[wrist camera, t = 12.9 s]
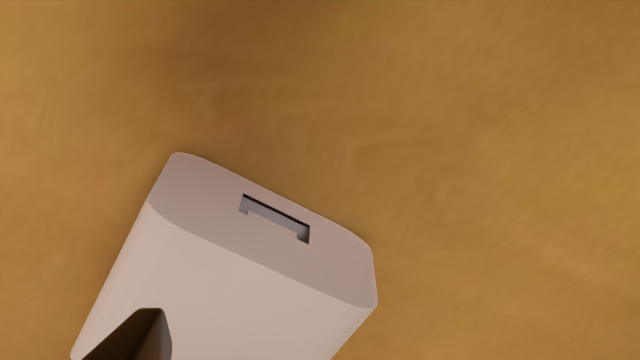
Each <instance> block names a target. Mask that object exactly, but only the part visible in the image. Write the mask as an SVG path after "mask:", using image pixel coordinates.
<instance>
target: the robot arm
mask: <svg viewBox="0 0 640 360" xmlns="http://www.w3.org/2000/svg"><path fill="white" fill-rule="evenodd" d="M171 357H172V339H171V335H170V331H169V327H168V323H167V319H166V315H165V312H164V310H163V309H161V308H140V309H138V310H136V311H135V312H134V313H133V314H131V315H130V316H129V317H128V318H127V319H126V320H125V321H124V322H123V323H121V324H120V325H119V326H118V327H117V328H116V329H115V330H114V331H113V332H111V333H110V334H109V335H108V336H107V337H106V338H105V339H104V340H103V341H101V342H100V343H99V344H98V345H97V346H96V347H95V348H94V349H93V350H91V351H90V352H89V353H88V354H87V355H86V356H85V357H84V358H83V359H81V360H171Z"/></svg>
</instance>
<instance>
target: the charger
mask: <svg viewBox="0 0 640 360" xmlns="http://www.w3.org/2000/svg"><path fill="white" fill-rule="evenodd" d="M377 305H378V295H377V287H376V279H375V271H374V262H373V254H372V251H371V248H370V247H369V246H368V245H367V244H366V243H365V242H364V241H363V240H362V239H361V238H360V237H358V236H357V235H356V234H354V233H352V232H351V231H349V230H348V229H346V228H344V227H342V226H341V225H339V224H337V223H335V222H333V221H331V220H329V219H327V218H325V217H323V216H321V215H319V214H317V213H315V212H313V211H311V210H309V209H307V208H305V207H303V206H301V205H298V204H296V203H294V202H292V201H290V200H288V199H286V198H284V197H282V196H280V195H278V194H276V193H274V192H272V191H270V190H268V189H266V188H264V187H262V186H260V185H258V184H256V183H254V182H252V181H250V180H248V179H246V178H244V177H242V176H240V175H238V174H236V173H234V172H232V171H230V170H228V169H226V168H224V167H222V166H220V165H218V164H215V163H213V162H211V161H209V160H206V159H204V158H201V157H198V156H195V155H193V154H188V153H183V152H175V153H173V154H171V156H170V157H169V159H168V161H167V163H166V165H165V166H164V168H163V170H162V172H161V173H160V175H159V177H158V179H157V180H156V182H155V184H154V186H153V188H152V189H151V191H150V193H149V195H148V196H147V198H146V200H145V202H144V205H143V207H142V209H141V211H140V213H139V215H138V217H137V219H136V221H135V223H134V225H133V227H132V229H131V231H130V233H129V235H128V237H127V239H126V241H125V243H124V245H123V247H122V249H121V251H120V253H119V255H118V257H117V259H116V261H115V263H114V265H113V267H112V269H111V271H110V273H109V275H108V277H107V279H106V281H105V283H104V285H103V287H102V290H101V292H100V294H99V296H98V298H97V300H96V302H95V304H94V306H93V308H92V310H91V312H90V314H89V316H88V318H87V320H86V322H85V324H84V326H83V328H82V330H81V332H80V334H79V336H78V338H77V340H76V342H75V344H74V346H73V348H72V350H71V355H70V358H71V360H81V359H83V358H84V357H85V356H86V355H87V354H88V353H89V352H90V351H91V350H93V349H94V348H95V347H96V346H97V345H98V344H99V343H100V342H101V341H103V340H104V339H105V338H106V337H107V336H108V335H109V334H110V333H111V332H113V331H114V330H115V329H116V328H117V327H118V326H119V325H120V324H121V323H123V322H124V321H125V320H126V319H127V318H128V317H129V316H130V315H131V314H133V313H134V312H135V311H136V310H138V309H140V308H161V309H163V310H164V312H165V315H166V319H167V323H168V327H169V331H170V335H171V339H172V357H171V360H331V359H332V357H333V356H334V355H335V354H336V353H337V352H338V351H339V349H340V348H341V347H342V346H343V345H344V344H345V342H346V341H347V340H348V339H349V338H350V337H351V336H352V334H353V333H354V332H355V331H356V330H357V329H358V328H359V326H360V325H361V324H362V323H363V322H364V321H365V320H366V318H367V317H368V316H369V315H370V314H371V313H372V311H373V310H374V309H375V308H376V307H377Z"/></svg>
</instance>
